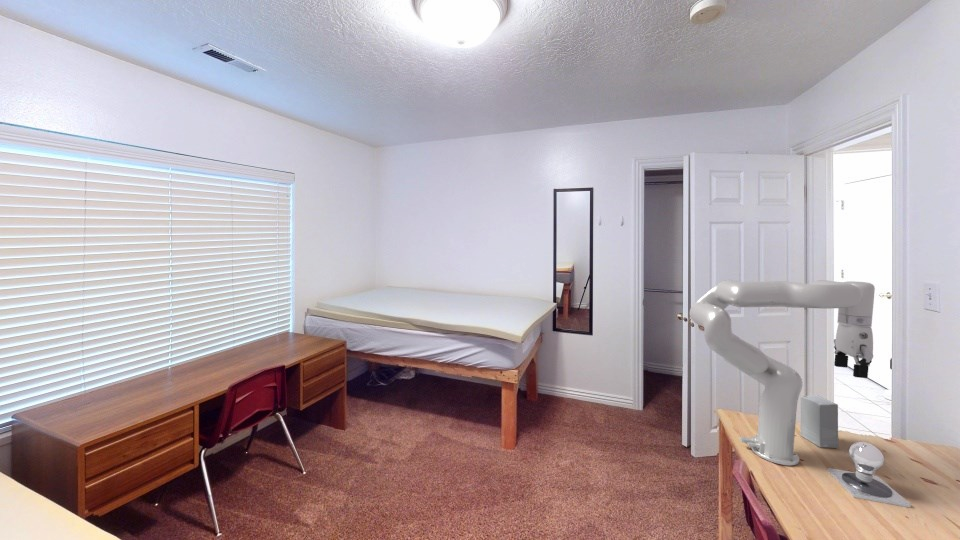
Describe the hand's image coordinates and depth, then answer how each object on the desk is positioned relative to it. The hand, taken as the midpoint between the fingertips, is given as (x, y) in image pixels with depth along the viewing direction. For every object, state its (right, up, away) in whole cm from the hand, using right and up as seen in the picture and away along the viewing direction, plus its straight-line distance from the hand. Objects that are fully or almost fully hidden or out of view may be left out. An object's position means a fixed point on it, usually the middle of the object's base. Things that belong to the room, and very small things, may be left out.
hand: (850, 371), depth 114 cm
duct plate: (-7, -31, -11) cm, 34 cm away
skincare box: (+2, -29, +13) cm, 32 cm away
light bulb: (-7, -30, -10) cm, 32 cm away
